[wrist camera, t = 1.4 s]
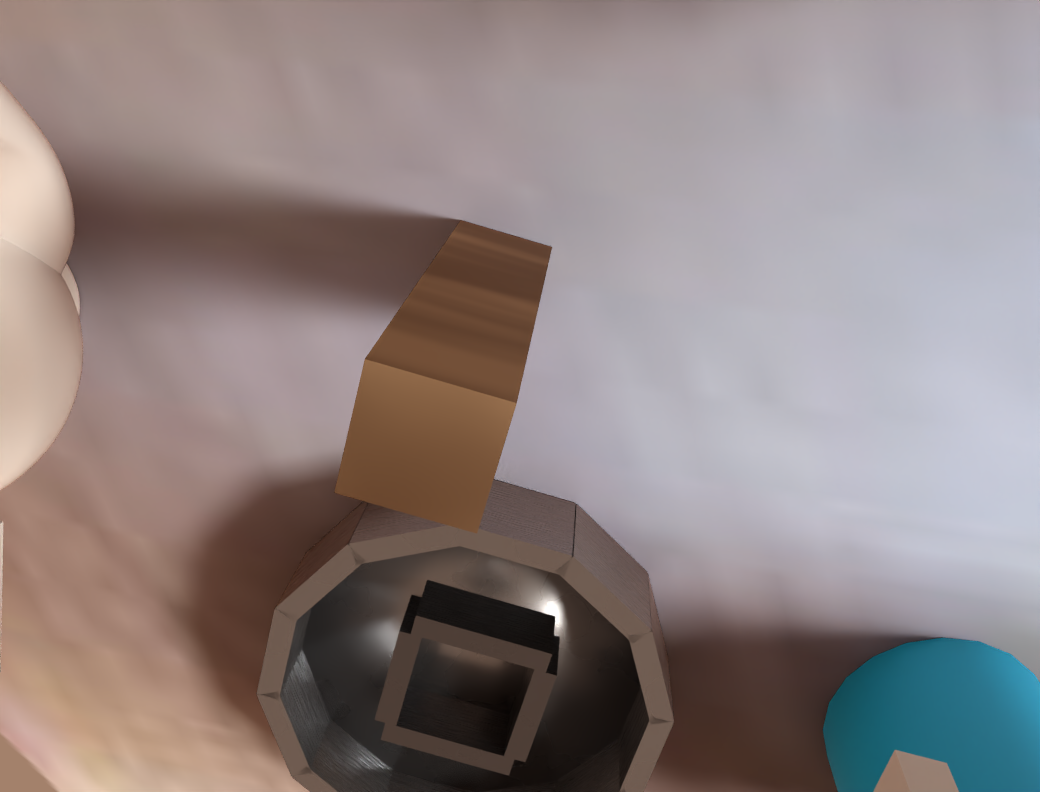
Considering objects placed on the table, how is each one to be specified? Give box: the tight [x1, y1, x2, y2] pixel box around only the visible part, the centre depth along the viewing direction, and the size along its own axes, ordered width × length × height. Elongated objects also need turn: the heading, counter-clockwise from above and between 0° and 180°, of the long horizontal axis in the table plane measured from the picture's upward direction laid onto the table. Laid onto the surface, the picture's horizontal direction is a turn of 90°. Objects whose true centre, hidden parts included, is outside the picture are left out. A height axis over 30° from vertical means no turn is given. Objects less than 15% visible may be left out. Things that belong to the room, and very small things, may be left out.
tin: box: [257, 479, 674, 792], centre depth 35 cm, size 14×14×4 cm
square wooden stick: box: [334, 220, 552, 534], centre depth 25 cm, size 3×3×13 cm
